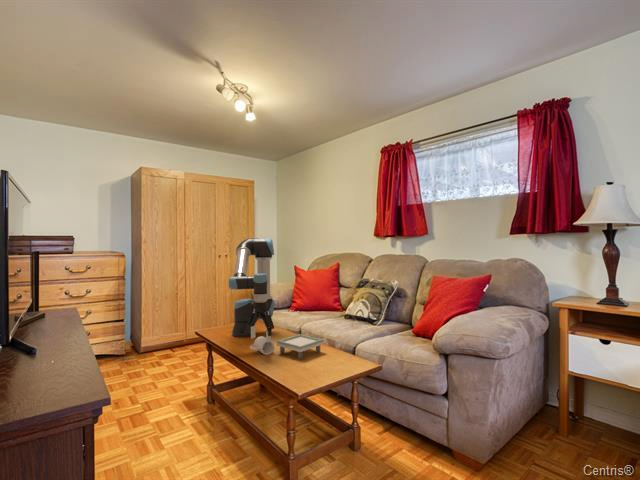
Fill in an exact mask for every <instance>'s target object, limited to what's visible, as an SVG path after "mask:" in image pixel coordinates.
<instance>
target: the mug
mask: <svg viewBox="0 0 640 480" xmlns="http://www.w3.org/2000/svg"><path fill="white" fill-rule="evenodd" d="M249 348H250V350H254V351H258V352H259V353H262V354H263V355H264V356H265V355H266V356H268V355H271V354H272V353H273V352H274V350H275V343H274V341H272V340H271V342H266V336H261V335H260V336H258V337H257V338H255V340H254V341H253V344H251V345H250V346H249Z"/></svg>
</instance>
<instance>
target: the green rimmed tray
mask: <svg viewBox="0 0 640 480" xmlns="http://www.w3.org/2000/svg"><path fill="white" fill-rule="evenodd" d="M323 345H324V338H318V337H314V336H310V335H306V334H302V333H300V334H299V333H298V334H295V335H293V336H292V335H291V336H289V337H285V338H282V339H279V340H276V346H277V347H279V354H280V355H285V354H286V353H285V349H287V350H292V351H295V352H297V360H298V361H302V360H303V357H304V356H303V355H304V354H303V352H306V351H308V350H312V349H314V348H315V353H316V354H320V353H321V346H323Z"/></svg>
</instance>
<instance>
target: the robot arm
mask: <svg viewBox="0 0 640 480" xmlns="http://www.w3.org/2000/svg"><path fill="white" fill-rule="evenodd" d="M251 256H254V259H256V261H257V263H256V267H257V273H254V274H253V275H250V276H249V275H248V274H247V273H248V266H249V258H250V257H251ZM273 256H275V249H274V244H273V239H272V238H271V237H270V238H268V237H265V238H264V237H260V238H259V237H256V238H254V237H253V238H252V237H251V238H249V237H248V238H246V239H244V240H243V241H241V242H240V243H239V244H238V245H237V247H236V249H235V257H236V259H235V264H234V271H233V276H229V278H228V288H229V289H230V290H253V299H252V298H242V299H238V300H236V301H235V302H234V308H233V309H234V324H233V327H232V331H231V335H232V336H233V337H236V336H237V338H243V337H244V338H245V337H250V339H254V338H255V339H256V323H257V321H258V320H259V319H260V320H262V322H263V324H264V326H265V328H266V331H265V332H266V334H265V335H266V336H265V338H266V342H271V341H272V335H273V333H272V330H274V329H275V326H274V322H273V319H272V318H273V315H274V311H275V309H274V308H275V300H274V299H273V296H271V260H272V259H273ZM247 275H248V276H247Z"/></svg>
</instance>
